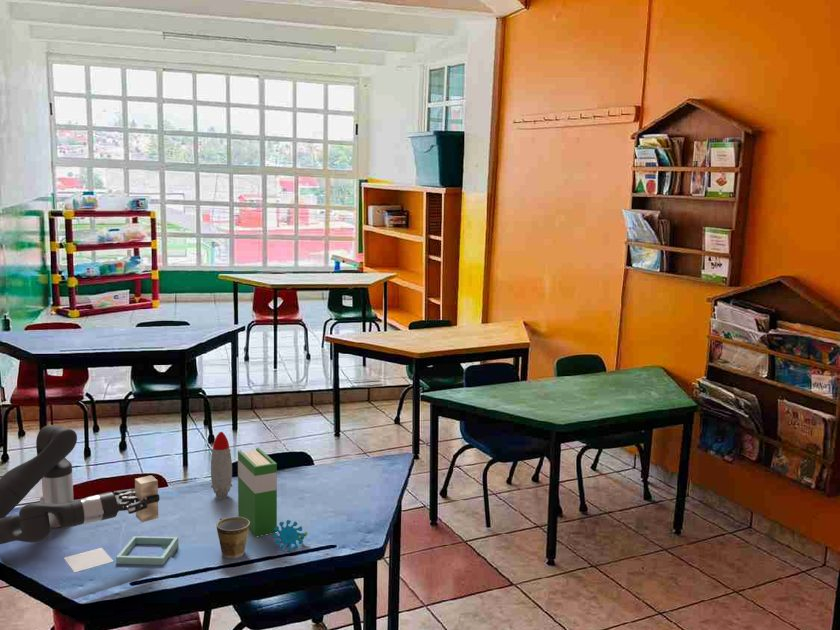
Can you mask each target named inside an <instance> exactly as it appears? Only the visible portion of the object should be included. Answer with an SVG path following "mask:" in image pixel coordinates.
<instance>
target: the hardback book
mask: <svg viewBox="0 0 840 630" xmlns="http://www.w3.org/2000/svg"><path fill="white" fill-rule="evenodd" d="M277 465H278V463H277V462H276V461H274V460H273V459H272V458H271V457H270V456H269V455H268V454H267V453H266V452H264V451H263V450H262V448H260V447H256V448H255V450H251V451H244V452H243V451H242V450H238V451H237V489H238V492H237V498H238V499H237V501H238V502H237V503H238V504H237V506H238V507H237V508H238V512H237V513H238V516H237V517H243V518H246V519H248V520H249V522H250V525H249V532H250V531H251V532H252V533H251V532H250V533H251V534H252V535H253V537H254V538H258V537H257V536H259V537H262V536H261V535H263V536H267V535H266V534H268V535H271V534H270V533H273V534H274V533H275V532H277V531H275V530H274V529H275V527H276V526H278V522H277V521H278V520H277V519H278V515H277V514H278V511H277V510H278V504H277V503H278V502H277V501H278V500H277V499H278V488H277V487H278V483H277V482H278V479H277V478H278V473H277V472H278V469H277V468H278V466H277ZM277 533H278V532H277Z"/></svg>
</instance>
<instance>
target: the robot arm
mask: <svg viewBox="0 0 840 630" xmlns="http://www.w3.org/2000/svg"><path fill="white" fill-rule="evenodd" d="M77 442H78V434H77V432H76V431H75V430H73V429H72V428H69V427H63V426H59V425H55V424H48V425H45V426H43V427H42V428H40V430H39V431H38V433H37V436H36V442H35V445H36V446H35V448H36V455H35V456H33V458H31V459H29V460H27V461H25V462H23V463H21V464H19V465H17V466H15V467H14V468H12V469H10V470H8V471H7V472H6V473H4V474H3V475H2V476H1V477H0V545H3V544H7V543H11V542H23V543H31V544H32V543H40V542H42V541H44V540H46V539H47V538H48V537H49V536H50V535H51V531H52V530H51V529H53V528H54V529H55V528H62V529H69V528H73V527H78V526H81V525H86V524H92V523H98V522H100V521H101V522H102V521H105V520H110V519H114V518H116V517H117V515H118V513H119V512H121V511H122V512H124V511H127V513H128V514H134V513H135V514H136V512H137V511H140V510H143V509H146V508H147V504H151V503H155V502H158V503H159V501H160V494H159V493H158V494H155V495H151V496H147V497H138V496H135V494H136V493H135V488H129V489H121V490H114V491H113V492H112V491H107V492H103V493H99V494H95V495H89V496H86V497H84V498H80V499H76V500H74V481H73V466H72V462H71V461H70V460H68V459H67V458H66V457H67V456H68V455H70V453H71V452H72V451H73V449H74V448H75V447H76V444H77ZM39 482H41V489H42V491H41V492H42V493H41V494H42V495H41V497H39V502H32V503H27V504H25V505H23V507H21V509H20V510H19V511H18V514H13V515H9V516H8V514H9V513H11V512H12V511H13V510H14V509H15V508H16V507H17V505H19V504H20V503H21V502H22V501H23V499H24V498H25V497H27V495H28V494H29V493H30V492H31V490H32V489H33V488H35V486H36V485H38V483H39ZM135 500H136V502H135ZM139 500H141V501H139ZM141 506H142V507H141Z"/></svg>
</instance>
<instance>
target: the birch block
mask: <svg viewBox="0 0 840 630" xmlns="http://www.w3.org/2000/svg"><path fill="white" fill-rule="evenodd" d="M158 483H159V481H158V479H156V478H155V476H153V475H147V476H141V477H138V478H134V489H135V493H136V494H135V496H138V497H147V496H151V495H155V494H158V495H159V485H158ZM139 501H141V500H139ZM135 502H136V500H134V503H135ZM141 507H142V506H141ZM135 518H137V520H139V521H140V522H141V523H144V522H148V521H152V520H156V519H159V501H158V502H155V503H151V504H147V508H146V509H143V510H140V511H137V512H135Z"/></svg>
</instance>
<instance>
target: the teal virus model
mask: <svg viewBox="0 0 840 630" xmlns="http://www.w3.org/2000/svg"><path fill="white" fill-rule="evenodd" d="M291 522H292V521H291V520H290V519H286V526H285V527H284V524H285V522H284V521H280V522H279V523H278V524H279V526H280V528H281V529H280V528H279V526H278V525H277V526H276V527H275V529H274V530H275V531H277V533H273V536H272V538H275V540H274V543H275V545H276V546H277V545H279V544H280V546H279V549H280V550H282V551H283V550H284V548H285V547H286V546H287V545H288V546H287V548H286V551H288V552H291V551H292V545H293V544H294V546H293V550H297V549H298V548H299V545H302V544H303V542H304V539H305V537H307V536H308V535H309V533H308V532H307V531H305V532H302V531H303V527H302V526H299V527H297V525H298V522H297V521H293V523H292V525H290V524H291ZM289 525H290V526H289ZM300 532H302V533H300ZM278 534H279V535H278ZM276 538H278V539H279V540H278V539H276ZM297 542H298V544H297ZM281 543H283V544H281Z"/></svg>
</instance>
